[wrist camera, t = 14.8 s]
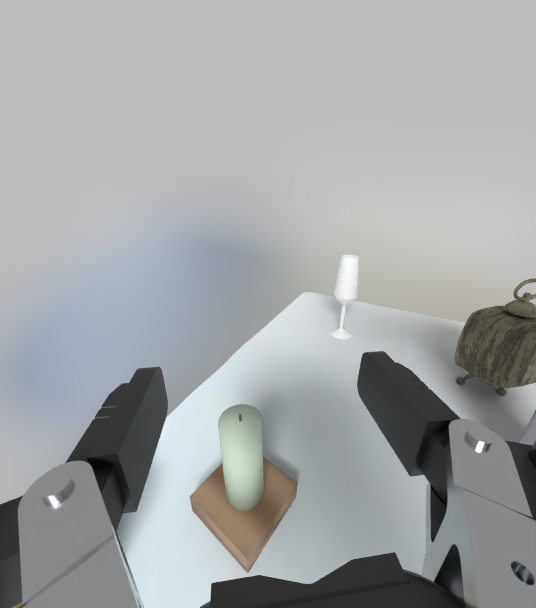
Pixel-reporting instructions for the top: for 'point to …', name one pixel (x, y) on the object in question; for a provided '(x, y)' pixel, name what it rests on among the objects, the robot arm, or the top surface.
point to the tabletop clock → (500, 344)
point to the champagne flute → (346, 290)
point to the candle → (242, 456)
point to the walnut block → (244, 513)
